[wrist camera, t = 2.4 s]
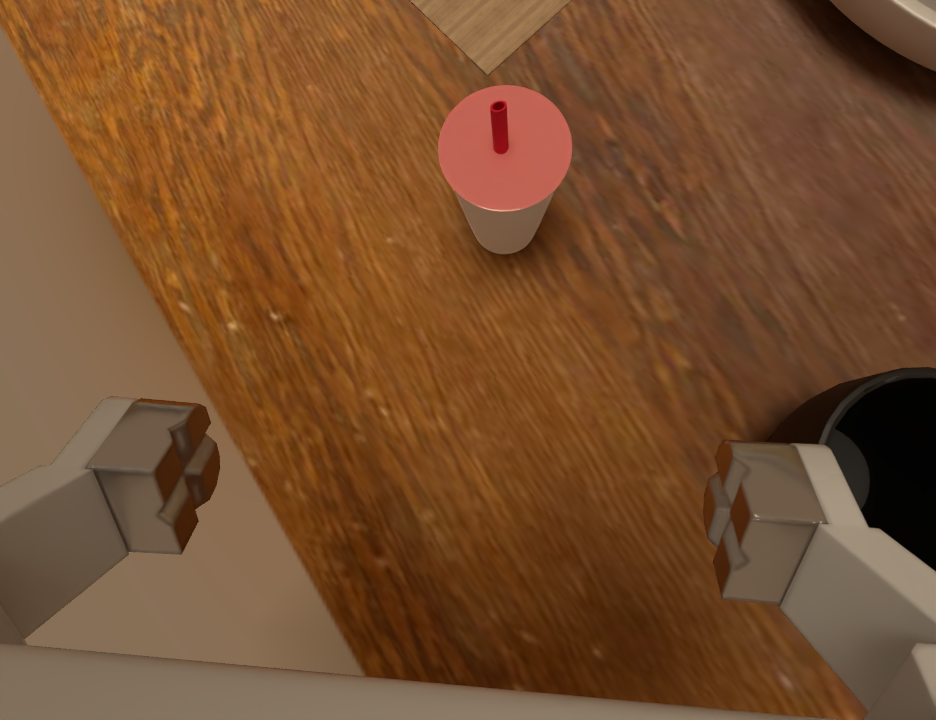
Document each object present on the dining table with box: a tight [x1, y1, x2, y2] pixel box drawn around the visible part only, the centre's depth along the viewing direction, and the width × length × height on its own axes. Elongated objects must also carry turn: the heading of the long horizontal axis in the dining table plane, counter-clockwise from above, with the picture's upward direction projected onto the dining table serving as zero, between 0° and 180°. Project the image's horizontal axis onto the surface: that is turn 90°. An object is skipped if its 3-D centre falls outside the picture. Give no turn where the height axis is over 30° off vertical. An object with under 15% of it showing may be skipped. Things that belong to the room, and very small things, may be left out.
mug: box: [767, 367, 936, 571], centre depth 30 cm, size 8×12×10 cm
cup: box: [438, 85, 572, 254], centre depth 31 cm, size 5×5×12 cm
